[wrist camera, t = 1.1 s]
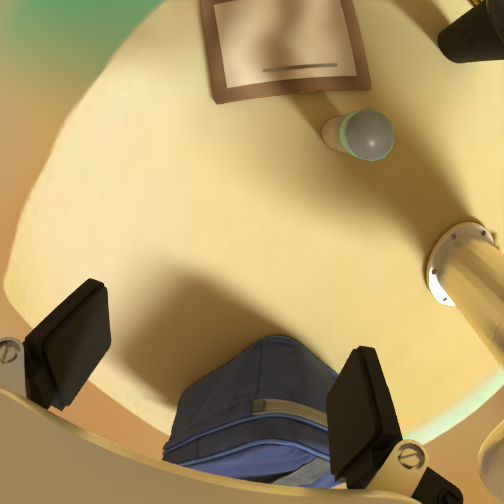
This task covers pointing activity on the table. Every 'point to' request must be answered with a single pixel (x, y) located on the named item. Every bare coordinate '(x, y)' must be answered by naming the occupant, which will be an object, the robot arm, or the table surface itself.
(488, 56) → the drinking cup
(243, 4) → the board
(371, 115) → the translucent bottle
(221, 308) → the table surface
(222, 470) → the lunch bag
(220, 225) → the table surface
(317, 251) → the table surface
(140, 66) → the table surface
